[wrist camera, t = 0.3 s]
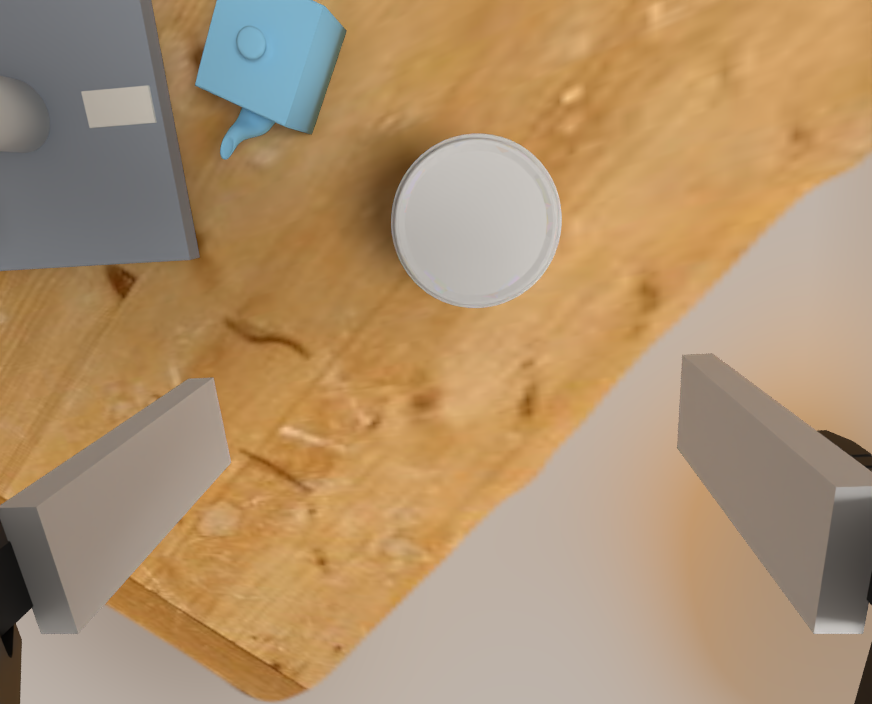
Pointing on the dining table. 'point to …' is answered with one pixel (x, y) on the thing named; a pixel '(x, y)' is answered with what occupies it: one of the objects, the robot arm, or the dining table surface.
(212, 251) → the dining table surface
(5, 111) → the striped base plate
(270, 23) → the teapot
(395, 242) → the coffee cup
